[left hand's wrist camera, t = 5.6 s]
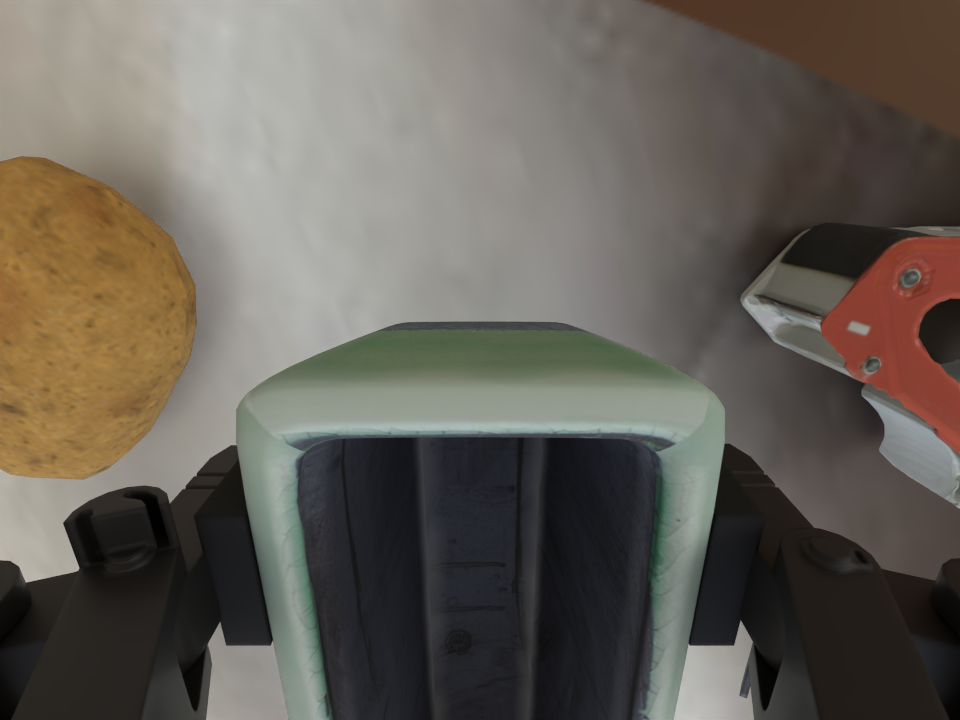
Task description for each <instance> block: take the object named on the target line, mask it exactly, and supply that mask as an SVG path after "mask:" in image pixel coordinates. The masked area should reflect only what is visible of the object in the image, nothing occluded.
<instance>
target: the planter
mask: <svg viewBox="0 0 960 720" xmlns="http://www.w3.org/2000/svg"><path fill="white" fill-rule="evenodd" d="M236 443H237V449H238V456H239V462H240V468H241V474H242V480H243V487H244V493H245V499H246V505H247V512H248V517H249V522H250V527H251V532H252V537H253V542H254V547H255V552H256V557H257V562H258V567H259V573H260V578H261V583H262V588H263V593H264V598H265V603H266V608H267V613H268V618H269V623H270V628H271V633H272V638H273V643H274V648H275V653H276V658H277V663H278V668H279V672H280V677H281V682H282V687H283V692H284V697H285V702H286V707H287V712H288V716H289V720H673V719H674V714H675V709H676V704H677V699H678V694H679V689H680V684H681V679H682V674H683V669H684V664H685V659H686V654H687V649H688V644H689V638H690V633H691V628H692V623H693V618H694V613H695V608H696V602H697V597H698V592H699V587H700V581H701V576H702V571H703V566H704V561H705V555H706V550H707V545H708V540H709V535H710V529H711V524H712V519H713V514H714V507H715V501H716V495H717V488H718V482H719V476H720V469H721V463H722V457H723V450H724V444H725V409H724V407H723V405H722V403H721V401H720V400H719V399H718V397H717V396H716V395H715V394H714V393H713V392H712V391H711V390H709V389H708V388H707V387H706V386H704V385H703V384H702V383H700V382H698V381H697V380H695V379H693V378H692V377H690V376H688V375H686V374H684V373H682V372H681V371H679V370H677V369H675V368H673V367H671V366H669V365H667V364H665V363H663V362H660V361H658V360H656V359H654V358H651V357H649V356H647V355H645V354H643V353H640V352H638V351H635V350H633V349H630V348H628V347H626V346H623V345H621V344H618V343H616V342H613V341H611V340H608V339H606V338H603V337H601V336H598V335H596V334H593V333H590V332H587V331H585V330H582V329H579V328H576V327H574V326H571V325H567V324H563V323H556V322H408V323H400V324H396V325H392V326H389V327H386V328H384V329H381V330H378V331H376V332H373V333H370V334H368V335H365V336H362V337H360V338H357V339H355V340H352V341H349V342H347V343H344V344H342V345H339V346H337V347H335V348H332V349H330V350H327V351H325V352H322V353H320V354H318V355H315V356H313V357H311V358H309V359H306V360H304V361H302V362H300V363H297V364H295V365H293V366H291V367H289V368H287V369H285V370H283V371H281V372H280V373H278V374H276V375H274V376H272V377H270V378H269V379H267V380H265V381H264V382H262V383H260V384H259V385H258V386H256V387H255V388H254V389H252V390H251V391H250V392H249V393H247V395H246V396H245V397H244V398H243V400H242V401H241V402H240V404H239V406H238V408H237V415H236Z"/></svg>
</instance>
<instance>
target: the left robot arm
mask: <svg viewBox="0 0 960 720" xmlns="http://www.w3.org/2000/svg"><path fill="white" fill-rule="evenodd" d="M63 524H64V527H65V530H66V532H67V535H68V538H69V540H70V543H71V546H72V548H73V551H74V554H75V557H76V559H77V562H78V565H79V567H80V568H79V571H77V572H74V573H69V574H65V575H60V576H55V577H51V578H46V579H41V580H37V581H32V582H28V583H26V582H25V580H24V578H23V575H22V573H21V571H20V568H19V566H17V565H15V564H14V563H12V562H11V561H0V720H206V714H207V705H208V695H209V686H210V677H211V667H212V662H211V656H210V651H209V647H208V642H209V640H210V639H211V637H212V635H213V633H214V631H215V630H216V628H217V626H218V624H219V622H221V626H222V630H223V634H224V638H225V642H226V645H271V643H272V641H273V638H272V633H271V628H270V623H269V618H268V613H267V608H266V603H265V598H264V593H263V588H262V583H261V578H260V573H259V567H258V562H257V557H256V552H255V547H254V542H253V537H252V532H251V527H250V522H249V517H248V512H247V505H246V499H245V493H244V487H243V480H242V474H241V468H240V462H239V456H238V449H237V445H231V446H230V447H228V448H226V449H225V450H223V451H221V452H220V453H218V454H217V455H215V456H213V457H212V458H210V459H209V460H208V462H207V463H206V464H205V465H204V466H203V467H202V468H201V469H200V471H199V472H198V473H197V476H194V477H193V478H192V480H191V481H190V482H189V483H188V484H187V485H186V489H183V490H182V491H181V492H180V493H179V494H178V495H177V496H176V498H175V499H174V500H173V501H172V502H171V503H170V504H169V500H168V496H167V493H165V492H164V491H163V490H161V489H160V488H157V487H151V486H136V487H127V488H123V489H119V490H116V491H112V492H108V493H106V494H104V495H101V496H99V497H97V498H95V499H92V500H90V501H88V502H87V503H85V504H84V505H82V506H81V507H79V508H78V509H76V510H75V511H73V512H72V513H71V515H70V516H69V517H68V518H67V519H66V520H65V521H64V523H63ZM740 620H741V621H742V623H743V625H744V626H745V628H746V630H747V632H748V634H749V635H750V637H751V639H752V641H753V644H752V647H751V651H750V655H749V659H748V662H747V666H746V670H745V673H744V677H743V681H742V684H741V690H740V696H742V697H745V698H747V696H748V692H749V689H750V686H751V694H752V703H753V712H754V720H960V558H958V559H950V560H949V561H947V562H946V563H944V564H943V565H942V567H941V569H940V572H939V574H938V576H937V579H936V581H934V580H929V579H925V578H920V577H915V576H911V575H906V574H902V573H897V572H892V571H888V570H884V569H881V567H880V566H879V565H878V563H877V562H876V561H875V559H874V558H873V556H872V555H871V554H869V553H868V552H867V551H866V550H864V549H863V548H862V547H860V546H859V545H858V544H857V543H855V542H853V541H851V540H849V539H847V538H845V537H843V536H841V535H839V534H836V533H832V532H829V531H826V530H823V529H818V528H814V527H813V526H812V525H811V524H810V523H809V522H808V521H807V519H806V518H805V517H804V516H803V515H802V514H801V513H800V512H799V510H798V509H797V508H796V507H795V506H794V505H793V504H792V503H791V501H790V500H789V499H788V498H787V497H786V496H785V495H784V494H783V493H782V491H781V490H780V489H779V488H776V487H775V484H774V482H773V481H772V480H771V479H770V478H769V477H768V476H767V475H764V471H763V470H762V469H761V468H760V467H759V466H758V465H757V463H756V462H755V461H754V460H753V459H752V458H751V457H750V456H748V455H747V454H745V453H744V452H742V451H740V450H739V449H737V448H735V447H734V446H732V445H731V444H724V450H723V457H722V463H721V469H720V476H719V482H718V488H717V495H716V501H715V507H714V514H713V519H712V524H711V529H710V535H709V540H708V545H707V550H706V555H705V561H704V566H703V571H702V576H701V581H700V587H699V592H698V597H697V602H696V608H695V613H694V618H693V623H692V628H691V633H690V638H689V645H734V643H735V639H736V635H737V632H738V628H739V624H740Z"/></svg>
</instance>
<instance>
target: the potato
mask: <svg viewBox="0 0 960 720" xmlns="http://www.w3.org/2000/svg"><path fill="white" fill-rule="evenodd" d="M195 328H196V298H195V284H194V282H193V280H192V277H191V275H190V273H189V271H188V269H187V267H186V265H185V263H184V261H183V259H182V257H181V255H180V253H179V251H178V249H177V246H176V244H175V242H174V240H173V238H172V237H171V236H170V235H169V234H168V233H166V232H165V231H164V230H163V229H162V228H160V227H159V226H158V225H157V224H156V223H154V222H153V221H152V220H151V219H150V218H148V217H147V216H146V215H145V214H144V213H142V212H141V211H140V210H139V209H138V208H136V207H135V206H134V205H133V204H132V203H130V202H129V201H128V200H127V199H125V198H124V197H123V196H122V195H120V194H119V193H118V192H117V191H115V190H114V189H113V188H112V187H110V186H107V185H105V184H103V183H100V182H98V181H96V180H94V179H91V178H89V177H87V176H85V175H82V174H80V173H78V172H76V171H73V170H71V169H69V168H66V167H64V166H62V165H60V164H57V163H55V162H53V161H51V160H48V159H46V158H37V157H23V156H22V157H18V158H14V159H10V160H6V161H2V162H0V469H2V470H4V471H6V472H7V473H9V474H13V475H20V476H27V477H36V478H61V479H85V478H88V477H90V476H93V475H95V474H97V473H100V472H102V471H105V470H107V469H108V468H109V467H111V466H112V465H113V464H114V463H115V462H117V461H118V460H119V459H120V458H121V457H123V456H124V455H125V454H126V453H127V452H129V451H130V450H131V449H132V448H133V447H134V446H135V445H136V444H137V443H138V442H139V441H140V440H141V439H142V438H143V437H144V436H145V435H146V434H147V433H148V432H149V431H150V430H151V428H152V426H153V425H154V423H155V421H156V419H157V418H158V416H159V414H160V413H161V411H162V409H163V408H164V406H165V404H166V402H167V400H168V398H169V396H170V394H171V392H172V390H173V388H174V386H175V384H176V383H177V381H178V379H179V377H180V375H181V373H182V371H183V369H184V368H185V366H186V364H187V362H188V360H189V358H190V356H191V350H192V345H193V339H194V334H195Z"/></svg>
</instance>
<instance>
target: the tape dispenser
mask: <svg viewBox="0 0 960 720" xmlns="http://www.w3.org/2000/svg"><path fill="white" fill-rule="evenodd" d="M948 299H960V227H937V226H918V227H910V228H881V227H870V226H861V225H851V224H840V223H824V224H821V225H818V226H814V227H813V228H812V229H808V230H806V231H804V232H802V233H800V234H799V235H798V236H797V237H795V238H794V239H793V240H792V241H791V243H790V244H789V245H788V246H787V247H786V248H785V249H784V250H783V251H782V252H781V253H780V254H779V255H778V256H777V257H776V258H775V259H774V260H773V261H772V262H771V263H770V264H769V266H768V267H767V268H766V269H765V270H764V271H763V272H762V273H761V274H760V275H759V276H758V277H757V278H756V280H755V281H754V282H753V283H752V284H751V285H750V286H749V287H748V288H747V289H746V290H745V291H744V292H743V294H742V295H741V298H740V301H741V303H742V305H743V307H744V308H745V309H746V310H747V311H748V312H749V313H750V314H751V315H752V317H753V318H754V319H755V320H756V321H757V322H758V323H759V325H760V326H761V327H762V328H763V329H764V330H765V331H766V332H767V333H768V334H769V336H770V337H771V338H772V340H773V341H774V342H776V343H778V344H779V345H782V346H784V347H787V348H789V349H791V350H793V351H795V352H797V353H799V354H801V355H803V356H805V357H807V358H810V359H812V360H815V361H817V362H819V363H822V364H824V365H826V366H828V367H831V368H833V369H835V370H837V371H839V372H842V373H844V374H846V375H848V376H850V377H852V378H854V379H856V380H858V381H861V382H863V383H866V384H865V385H864V387H863V388H862V392H861V395H862V396H863V397H864V398H865V399H866V400H867V401H868V402H869V403H870V404H871V405H872V406H873V407H874V408H875V409H876V411H877V412H878V413H879V415H880V417H881V419H882V421H883V423H884V427H885V436H884V439H883V441H882V444H881V446H880V448H879V451H880V452H881V453H882V454H883V455H884V456H885V457H886V458H887V459H888V460H889V461H890V462H891V463H892V464H893V465H894V466H895V467H896V468H898V469H899V470H901V471H902V472H904V473H905V474H907V475H908V476H909V477H911V478H913V479H914V480H916V481H917V482H919V483H921V484H922V485H924V486H925V487H927V488H929V489H930V490H932V491H934V492H935V493H937V494H938V495H940V496H942V497H943V498H945V499H946V500H948V501H950V502H951V503H953V504H954V505H955V506H956V507H958V508H960V358H959V359H957V360H955V361H954V362H949V363H945V364H938V363H936V362H934V361H933V360H932V359H931V357H930V356H929V354H928V352H927V350H926V349H925V347H924V345H923V344H922V342H921V340H920V339H919V337H918V336H919V329H920V324H921V322H922V320H923V317H924V315H925V314H926V313H927V312H928V311H929V310H930V309H931V308H932V307H933V306H935V305H936V304H938V303H940V302H942V301H945V300H948Z"/></svg>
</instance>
